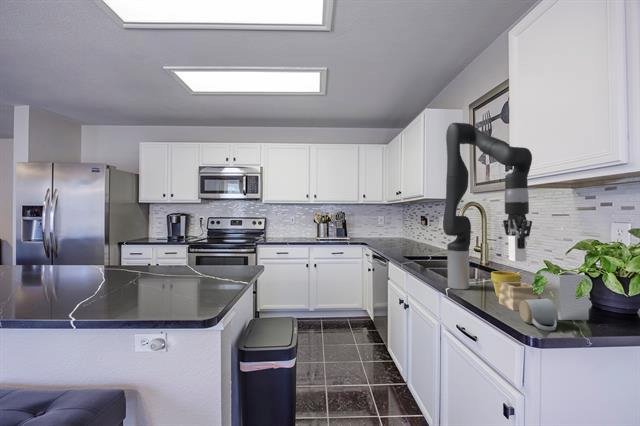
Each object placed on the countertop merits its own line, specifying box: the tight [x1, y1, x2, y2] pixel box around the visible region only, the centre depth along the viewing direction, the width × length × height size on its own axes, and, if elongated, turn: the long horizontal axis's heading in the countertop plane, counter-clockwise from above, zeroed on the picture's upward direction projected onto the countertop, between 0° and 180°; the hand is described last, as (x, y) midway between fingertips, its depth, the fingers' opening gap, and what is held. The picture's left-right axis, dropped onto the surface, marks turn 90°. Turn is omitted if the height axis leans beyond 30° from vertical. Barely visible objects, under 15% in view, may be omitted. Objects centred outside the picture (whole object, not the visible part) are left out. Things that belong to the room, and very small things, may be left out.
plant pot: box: [490, 270, 521, 298], centre depth 128 cm, size 10×10×10 cm
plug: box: [507, 235, 528, 262], centre depth 115 cm, size 4×5×9 cm
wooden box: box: [498, 281, 540, 311], centre depth 115 cm, size 9×9×8 cm
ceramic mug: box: [518, 298, 559, 332], centre depth 96 cm, size 11×8×8 cm
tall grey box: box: [539, 270, 590, 321], centre depth 105 cm, size 9×9×14 cm
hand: (517, 247), depth 115 cm, fingers closed on plug, 4 cm apart
